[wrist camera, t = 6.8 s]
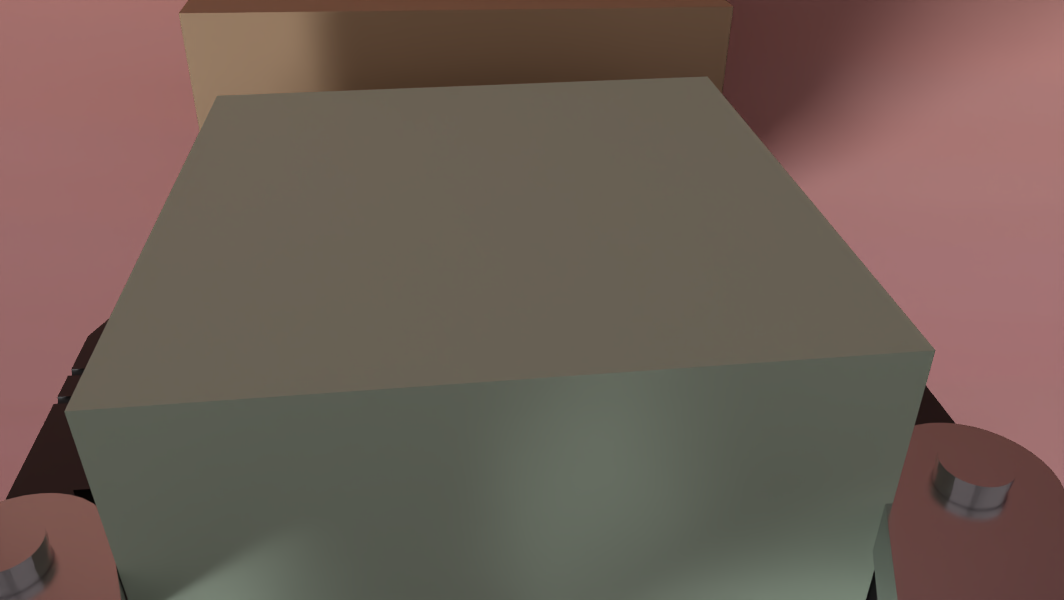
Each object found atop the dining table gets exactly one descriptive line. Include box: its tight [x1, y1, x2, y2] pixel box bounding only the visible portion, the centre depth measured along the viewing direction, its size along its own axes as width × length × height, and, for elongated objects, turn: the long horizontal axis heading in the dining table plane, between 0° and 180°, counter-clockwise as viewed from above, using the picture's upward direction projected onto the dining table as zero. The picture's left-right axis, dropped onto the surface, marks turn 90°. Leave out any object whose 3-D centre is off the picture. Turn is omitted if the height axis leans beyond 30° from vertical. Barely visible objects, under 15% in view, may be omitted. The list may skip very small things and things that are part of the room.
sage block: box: [64, 76, 935, 600], centre depth 9 cm, size 5×5×5 cm
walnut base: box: [179, 0, 733, 130], centre depth 14 cm, size 6×6×5 cm
